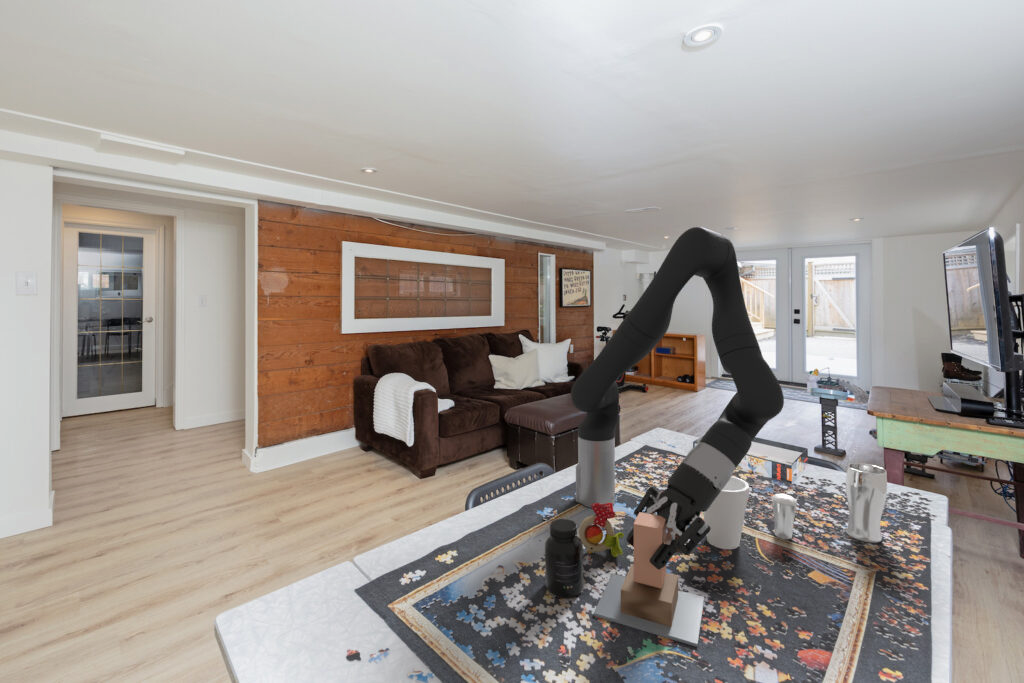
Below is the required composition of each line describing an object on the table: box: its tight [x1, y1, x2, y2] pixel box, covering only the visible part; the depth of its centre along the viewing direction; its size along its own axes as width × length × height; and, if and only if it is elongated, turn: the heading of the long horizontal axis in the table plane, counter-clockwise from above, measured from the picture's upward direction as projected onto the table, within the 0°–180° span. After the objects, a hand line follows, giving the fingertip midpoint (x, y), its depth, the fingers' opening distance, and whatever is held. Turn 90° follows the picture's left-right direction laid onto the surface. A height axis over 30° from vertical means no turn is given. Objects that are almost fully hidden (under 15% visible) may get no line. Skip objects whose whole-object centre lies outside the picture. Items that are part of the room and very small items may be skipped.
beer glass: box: [845, 462, 888, 544], centre depth 98 cm, size 7×7×15 cm
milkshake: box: [771, 491, 802, 540], centre depth 99 cm, size 4×5×10 cm
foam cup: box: [702, 475, 750, 550], centre depth 97 cm, size 10×9×13 cm
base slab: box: [621, 563, 679, 627], centre depth 77 cm, size 8×8×4 cm
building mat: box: [593, 573, 705, 648], centre depth 77 cm, size 16×12×1 cm
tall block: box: [633, 511, 667, 589], centre depth 77 cm, size 4×4×10 cm
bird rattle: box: [578, 503, 625, 558], centre depth 94 cm, size 6×11×9 cm
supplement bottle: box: [544, 518, 584, 599], centre depth 83 cm, size 7×7×12 cm
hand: (641, 554), depth 76 cm, fingers closed on tall block, 6 cm apart
